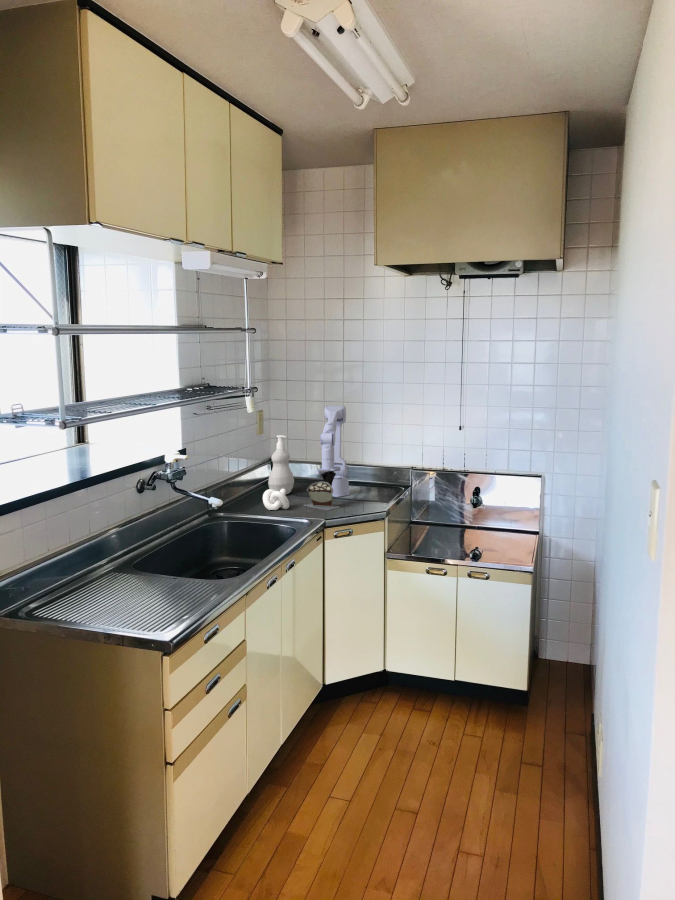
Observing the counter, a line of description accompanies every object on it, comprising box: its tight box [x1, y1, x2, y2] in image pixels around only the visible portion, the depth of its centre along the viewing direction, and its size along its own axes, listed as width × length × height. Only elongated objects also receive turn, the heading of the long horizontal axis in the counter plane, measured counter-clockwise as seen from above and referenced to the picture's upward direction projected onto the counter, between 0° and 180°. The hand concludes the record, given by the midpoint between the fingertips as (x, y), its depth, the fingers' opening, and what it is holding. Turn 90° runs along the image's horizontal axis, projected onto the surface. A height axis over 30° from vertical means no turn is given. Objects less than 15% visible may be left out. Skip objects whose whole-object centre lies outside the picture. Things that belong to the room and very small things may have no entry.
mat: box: [302, 502, 341, 512], centre depth 325 cm, size 9×16×1 cm, turn 46°
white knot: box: [262, 489, 290, 511], centre depth 322 cm, size 11×12×9 cm
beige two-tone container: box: [306, 481, 334, 507], centre depth 324 cm, size 12×6×10 cm
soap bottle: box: [267, 434, 295, 495], centre depth 356 cm, size 17×12×29 cm
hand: (328, 488), depth 327 cm, fingers closed
